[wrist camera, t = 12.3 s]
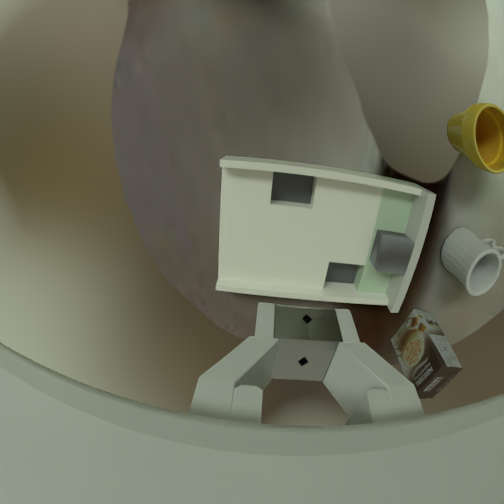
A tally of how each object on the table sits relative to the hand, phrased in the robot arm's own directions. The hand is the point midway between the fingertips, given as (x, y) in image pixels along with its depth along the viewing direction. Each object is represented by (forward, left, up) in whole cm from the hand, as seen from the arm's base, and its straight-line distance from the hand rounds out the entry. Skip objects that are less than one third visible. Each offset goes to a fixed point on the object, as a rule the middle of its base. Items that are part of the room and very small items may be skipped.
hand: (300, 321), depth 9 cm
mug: (+8, +37, -34) cm, 51 cm away
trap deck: (+9, +7, -34) cm, 35 cm away
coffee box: (+28, +32, -34) cm, 54 cm away
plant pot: (-12, +30, -34) cm, 47 cm away
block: (+9, +18, -31) cm, 36 cm away
